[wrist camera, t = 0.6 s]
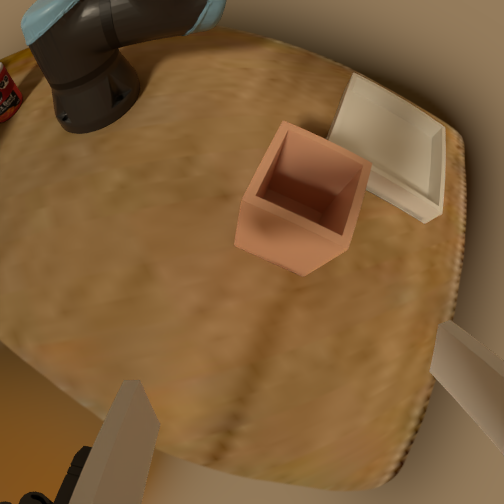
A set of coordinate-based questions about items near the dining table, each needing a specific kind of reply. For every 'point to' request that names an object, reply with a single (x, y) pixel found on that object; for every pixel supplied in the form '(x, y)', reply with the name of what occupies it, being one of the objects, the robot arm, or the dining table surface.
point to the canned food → (8, 95)
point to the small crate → (302, 201)
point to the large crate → (393, 147)
